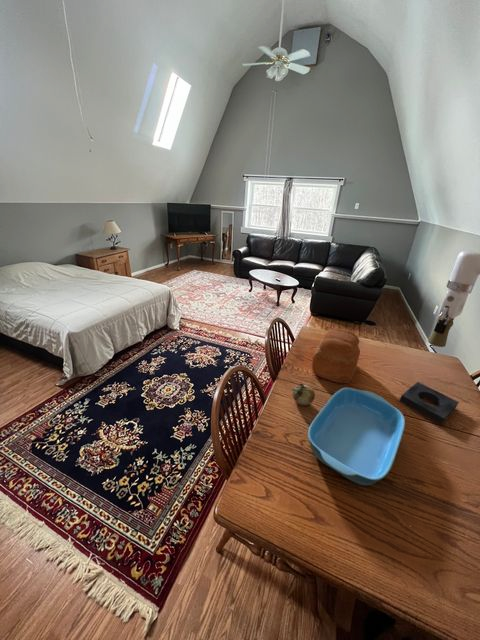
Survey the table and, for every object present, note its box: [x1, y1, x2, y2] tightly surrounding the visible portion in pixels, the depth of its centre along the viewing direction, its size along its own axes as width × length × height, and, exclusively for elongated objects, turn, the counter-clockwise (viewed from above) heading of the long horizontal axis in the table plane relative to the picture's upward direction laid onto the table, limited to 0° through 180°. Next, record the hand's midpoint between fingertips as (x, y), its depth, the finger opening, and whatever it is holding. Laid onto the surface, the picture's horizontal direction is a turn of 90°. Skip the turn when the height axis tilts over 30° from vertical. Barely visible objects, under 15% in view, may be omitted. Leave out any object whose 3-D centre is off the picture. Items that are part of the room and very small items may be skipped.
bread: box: [311, 328, 361, 384], centre depth 115 cm, size 18×22×17 cm
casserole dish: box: [307, 387, 406, 486], centre depth 82 cm, size 37×22×7 cm, turn 140°
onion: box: [291, 382, 316, 406], centre depth 97 cm, size 8×8×8 cm
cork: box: [427, 317, 454, 348], centre depth 105 cm, size 6×6×11 cm
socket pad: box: [399, 381, 460, 426], centre depth 99 cm, size 14×14×3 cm
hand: (441, 330), depth 105 cm, fingers closed on cork, 5 cm apart
